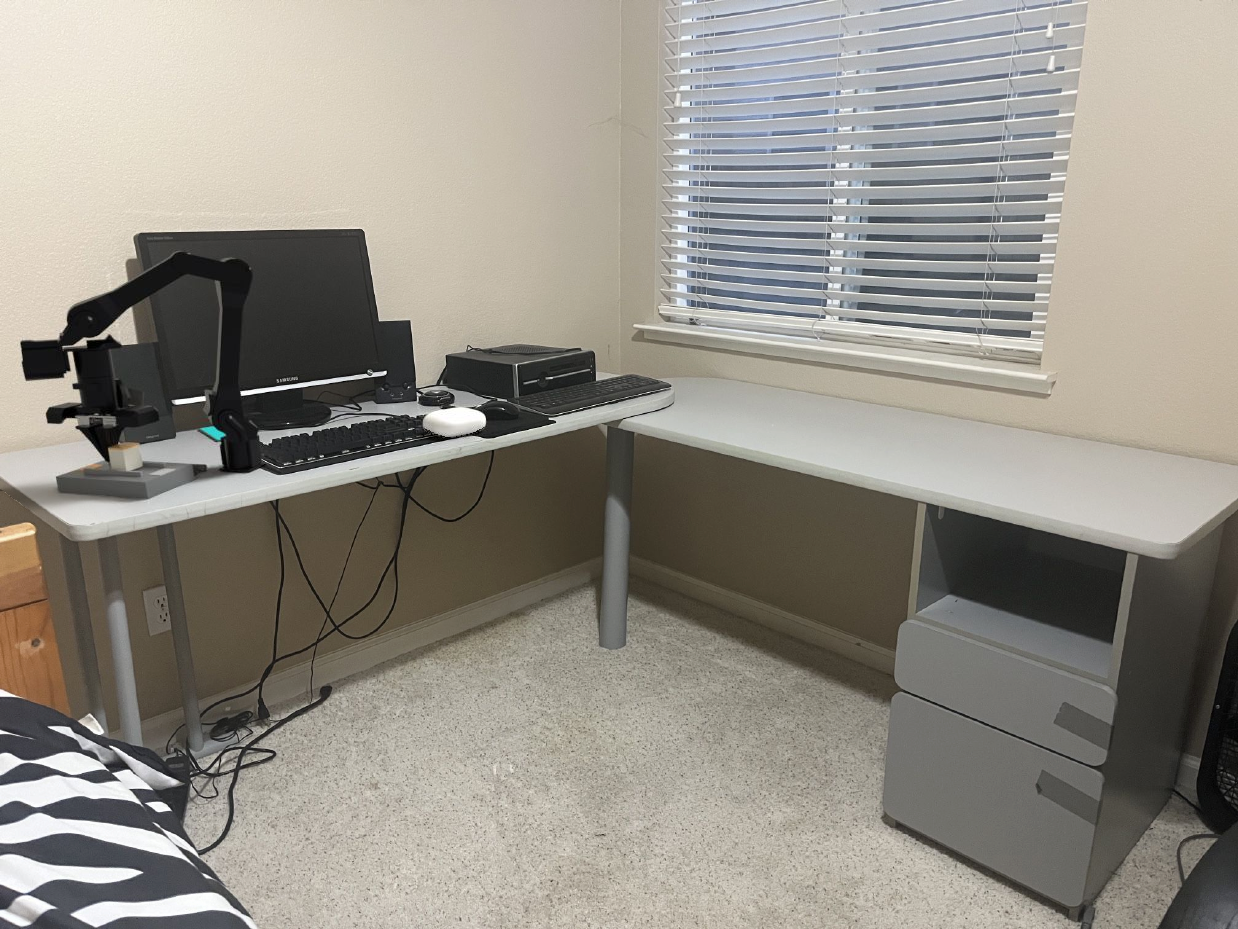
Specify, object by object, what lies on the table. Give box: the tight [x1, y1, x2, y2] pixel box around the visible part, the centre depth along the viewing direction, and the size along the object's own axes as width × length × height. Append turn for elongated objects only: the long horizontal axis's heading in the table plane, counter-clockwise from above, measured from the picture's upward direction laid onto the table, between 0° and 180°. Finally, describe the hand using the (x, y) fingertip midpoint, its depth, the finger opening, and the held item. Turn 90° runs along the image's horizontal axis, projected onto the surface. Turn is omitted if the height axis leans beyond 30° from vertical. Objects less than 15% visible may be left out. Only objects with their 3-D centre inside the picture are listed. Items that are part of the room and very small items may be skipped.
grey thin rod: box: [191, 463, 208, 473], centre depth 166 cm, size 14×1×1 cm, turn 82°
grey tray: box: [55, 459, 195, 500], centre depth 156 cm, size 18×12×4 cm, turn 78°
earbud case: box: [422, 406, 487, 438], centre depth 195 cm, size 10×13×5 cm
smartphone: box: [197, 425, 226, 443], centre depth 196 cm, size 7×1×15 cm
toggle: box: [108, 441, 143, 471], centre depth 155 cm, size 3×4×4 cm
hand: (110, 461), depth 156 cm, fingers closed
